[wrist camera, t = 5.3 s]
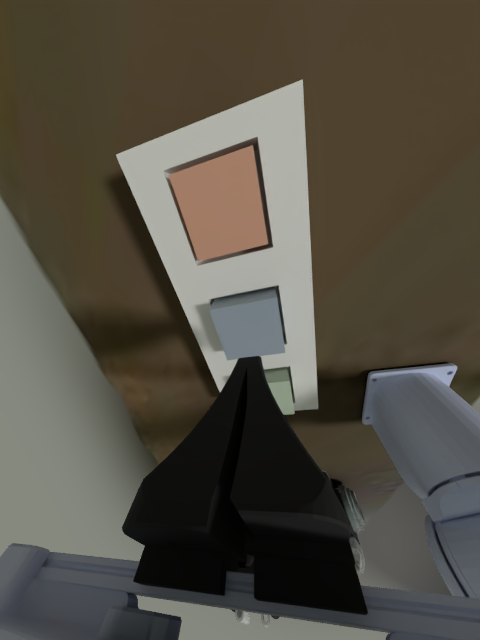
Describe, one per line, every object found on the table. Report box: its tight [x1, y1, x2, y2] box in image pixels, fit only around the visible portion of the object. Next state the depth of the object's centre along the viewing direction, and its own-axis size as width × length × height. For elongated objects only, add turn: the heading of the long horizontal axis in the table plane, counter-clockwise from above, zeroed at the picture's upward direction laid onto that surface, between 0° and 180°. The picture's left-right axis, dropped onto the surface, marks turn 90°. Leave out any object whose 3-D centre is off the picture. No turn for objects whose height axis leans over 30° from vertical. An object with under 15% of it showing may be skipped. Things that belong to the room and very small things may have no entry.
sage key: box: [264, 367, 295, 415], centre depth 18 cm, size 5×5×2 cm
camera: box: [322, 471, 365, 574], centre depth 31 cm, size 15×7×10 cm, turn 27°
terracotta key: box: [169, 145, 268, 261], centre depth 11 cm, size 5×5×2 cm
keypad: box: [116, 80, 318, 411], centre depth 16 cm, size 24×10×3 cm, turn 14°
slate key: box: [209, 287, 285, 360], centre depth 14 cm, size 5×5×2 cm
